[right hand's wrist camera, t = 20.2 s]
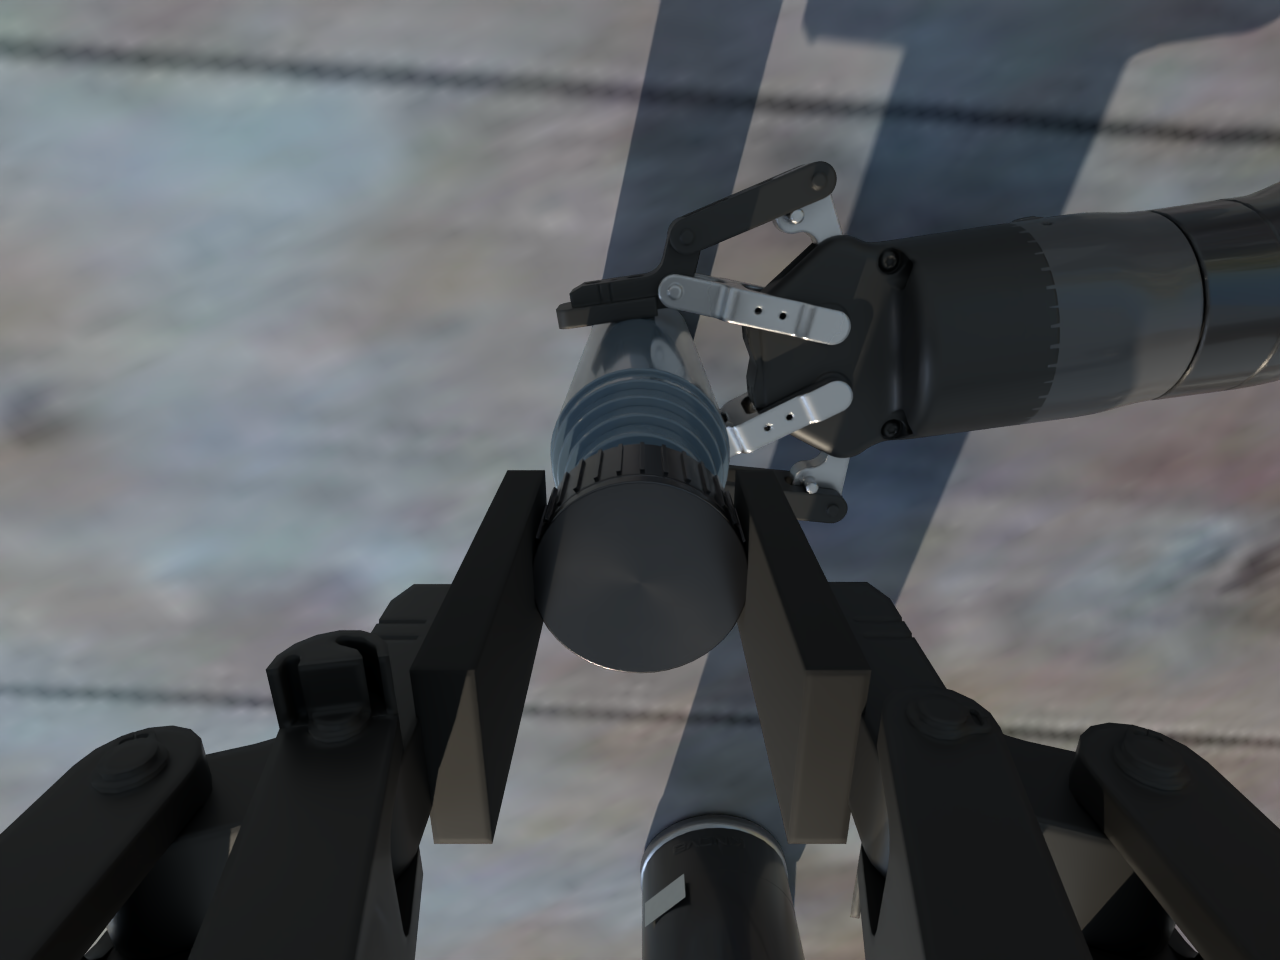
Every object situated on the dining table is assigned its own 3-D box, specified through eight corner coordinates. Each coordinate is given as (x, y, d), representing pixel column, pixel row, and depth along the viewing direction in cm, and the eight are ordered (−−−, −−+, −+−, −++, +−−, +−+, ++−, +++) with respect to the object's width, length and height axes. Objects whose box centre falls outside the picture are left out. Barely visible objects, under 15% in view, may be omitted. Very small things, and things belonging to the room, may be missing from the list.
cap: (696, 408, 14) (705, 442, 12) (764, 579, 15) (783, 634, 13) (508, 484, 14) (487, 528, 12) (591, 641, 16) (584, 703, 14)
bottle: (583, 299, 33) (490, 458, 13) (686, 288, 33) (762, 430, 12) (596, 399, 35) (534, 681, 14) (694, 389, 34) (773, 659, 14)
